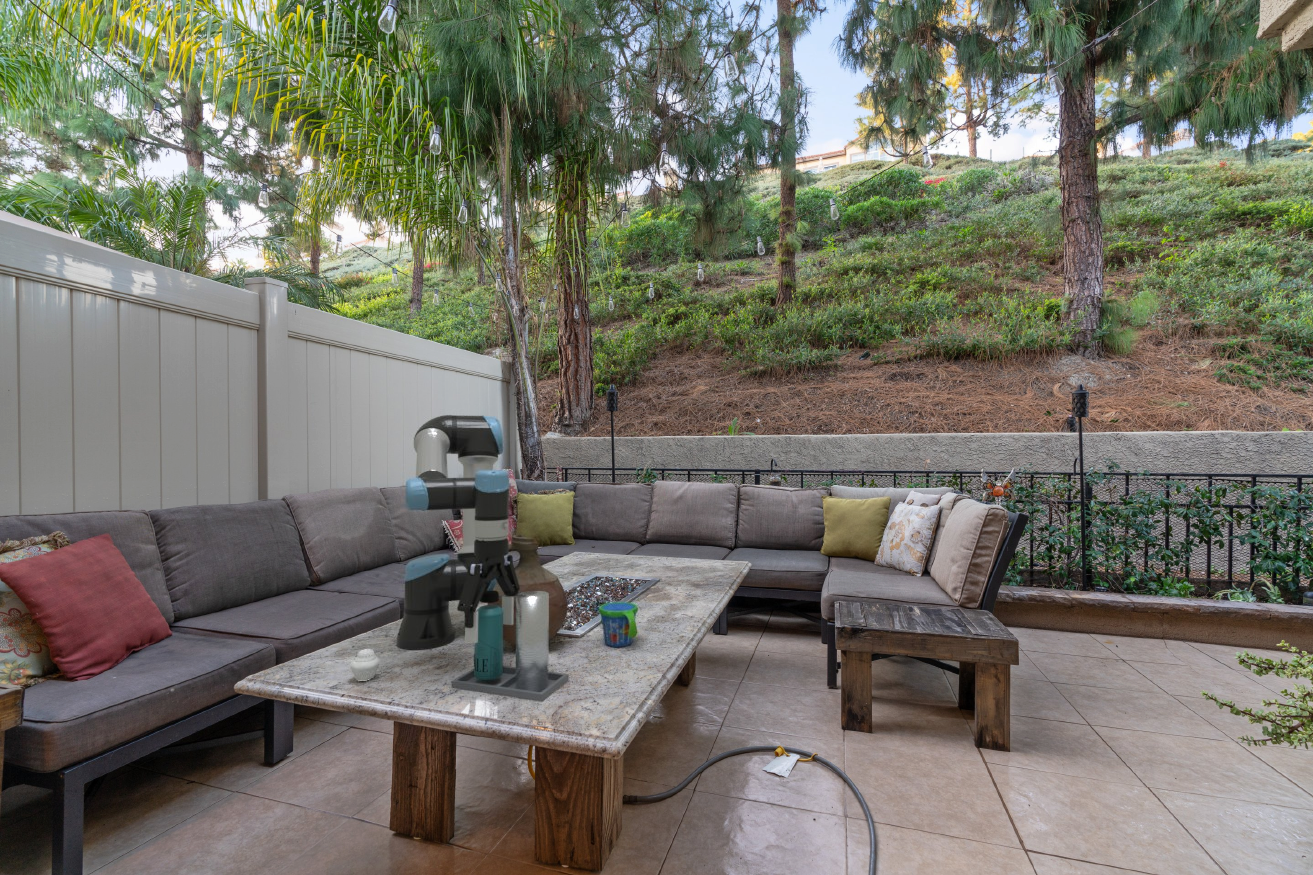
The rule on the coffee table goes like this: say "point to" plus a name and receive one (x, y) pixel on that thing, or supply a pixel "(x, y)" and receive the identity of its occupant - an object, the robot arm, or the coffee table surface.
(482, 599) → the beverage bottle
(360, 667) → the white lidded jar
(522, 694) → the tray
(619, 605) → the snack cup
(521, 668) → the canister
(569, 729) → the coffee table surface
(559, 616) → the jug
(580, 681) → the coffee table surface
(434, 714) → the coffee table surface
